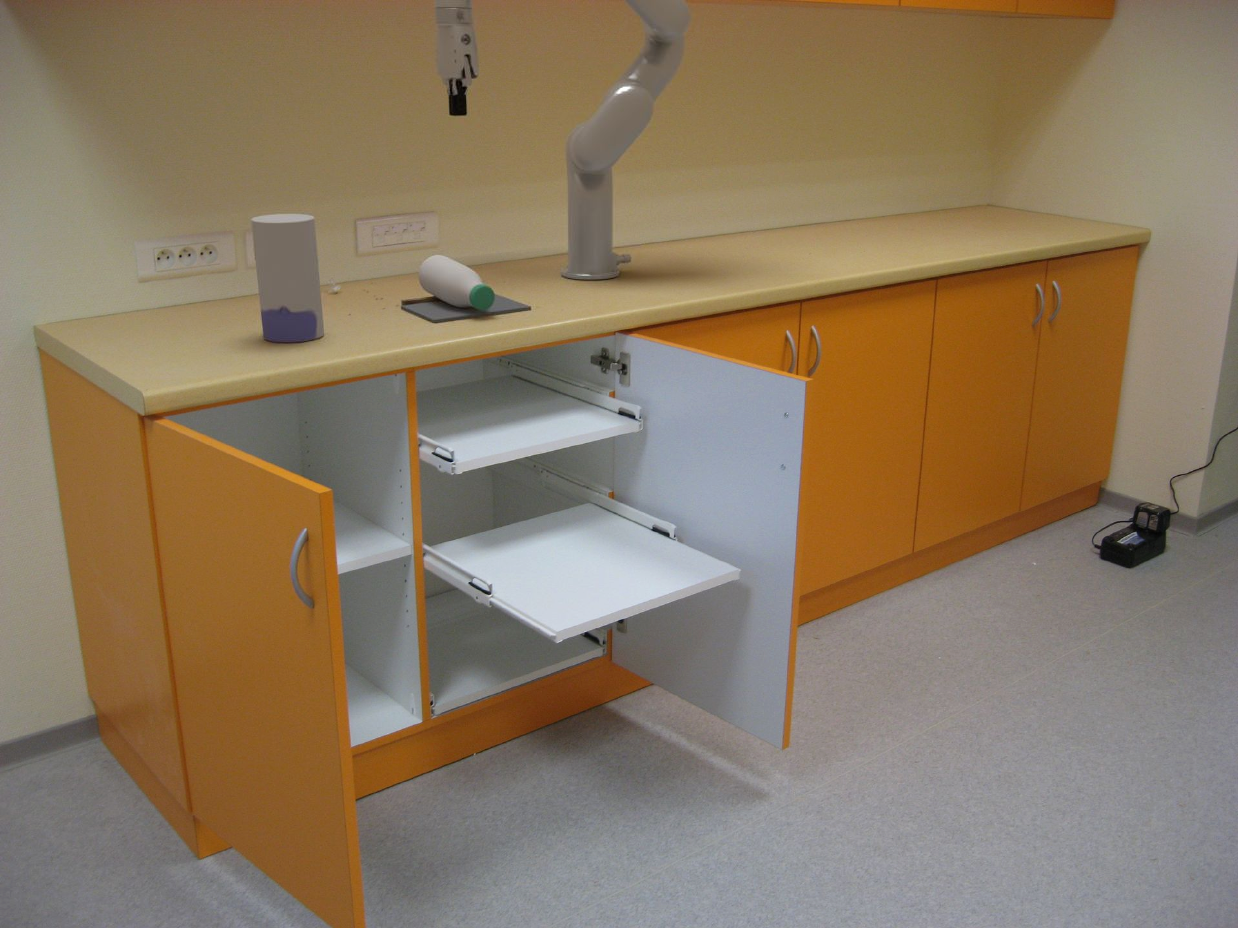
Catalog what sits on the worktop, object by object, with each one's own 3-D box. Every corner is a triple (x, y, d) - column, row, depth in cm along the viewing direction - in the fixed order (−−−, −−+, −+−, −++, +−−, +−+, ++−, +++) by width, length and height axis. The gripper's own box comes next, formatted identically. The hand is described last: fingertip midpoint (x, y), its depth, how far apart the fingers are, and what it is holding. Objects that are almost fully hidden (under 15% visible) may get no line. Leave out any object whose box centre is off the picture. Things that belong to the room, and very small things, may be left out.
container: (329, 329, 201) (319, 213, 194) (317, 343, 191) (306, 221, 184) (271, 329, 200) (260, 213, 193) (256, 343, 191) (243, 221, 184)
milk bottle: (414, 292, 221) (462, 318, 206) (419, 252, 219) (468, 276, 204) (450, 294, 226) (500, 320, 211) (455, 255, 223) (506, 278, 208)
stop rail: (485, 295, 228) (485, 289, 227) (488, 296, 227) (488, 290, 226) (401, 306, 218) (401, 300, 218) (404, 307, 217) (404, 301, 217)
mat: (495, 296, 227) (494, 293, 226) (531, 309, 216) (531, 306, 216) (401, 309, 216) (400, 305, 216) (434, 323, 205) (433, 320, 205)
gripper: (489, 18, 223) (492, 117, 229) (454, 19, 235) (457, 113, 241) (454, 18, 219) (458, 118, 225) (420, 19, 231) (425, 114, 237)
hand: (458, 115), depth 233 cm, fingers closed
